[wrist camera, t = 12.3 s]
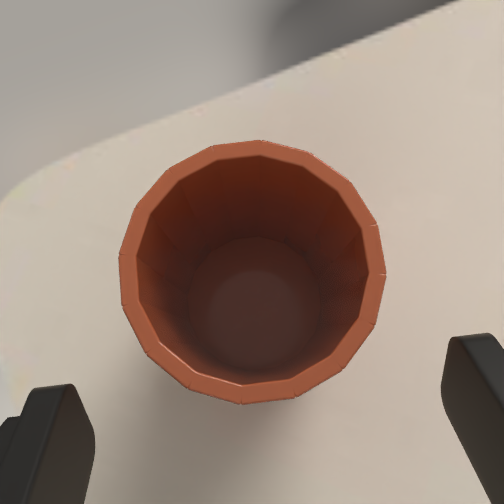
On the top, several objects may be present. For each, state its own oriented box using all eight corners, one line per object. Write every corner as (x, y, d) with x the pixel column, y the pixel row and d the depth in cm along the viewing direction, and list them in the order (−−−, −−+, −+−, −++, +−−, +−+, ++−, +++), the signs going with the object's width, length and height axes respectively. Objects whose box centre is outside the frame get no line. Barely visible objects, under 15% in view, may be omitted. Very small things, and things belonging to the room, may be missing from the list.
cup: (187, 388, 18) (128, 419, 10) (174, 240, 19) (111, 156, 11) (338, 369, 18) (407, 384, 10) (316, 223, 19) (360, 127, 11)
